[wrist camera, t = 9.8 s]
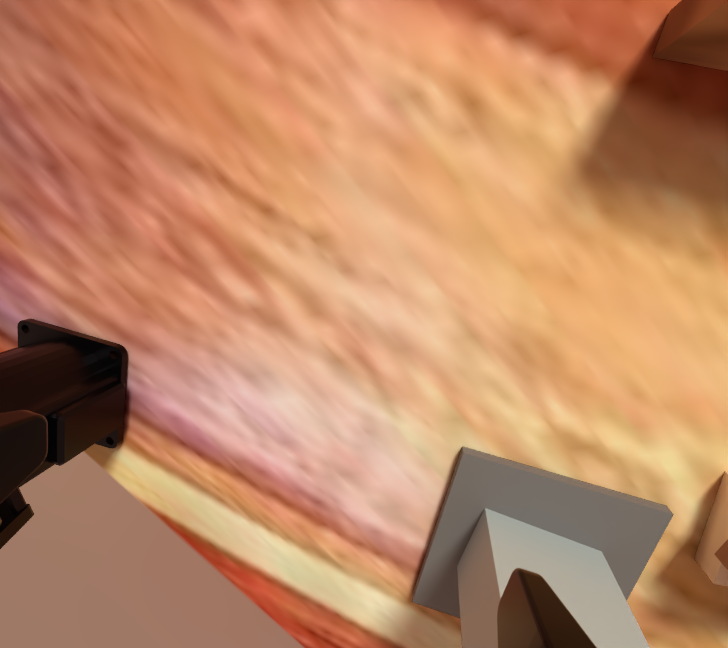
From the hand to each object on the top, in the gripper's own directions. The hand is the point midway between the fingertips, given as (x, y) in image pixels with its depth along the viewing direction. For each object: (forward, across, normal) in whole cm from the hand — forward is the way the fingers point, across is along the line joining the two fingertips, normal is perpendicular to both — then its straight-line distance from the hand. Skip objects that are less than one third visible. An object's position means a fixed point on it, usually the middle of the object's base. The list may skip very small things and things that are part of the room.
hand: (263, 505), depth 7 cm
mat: (+13, -11, +10) cm, 20 cm away
